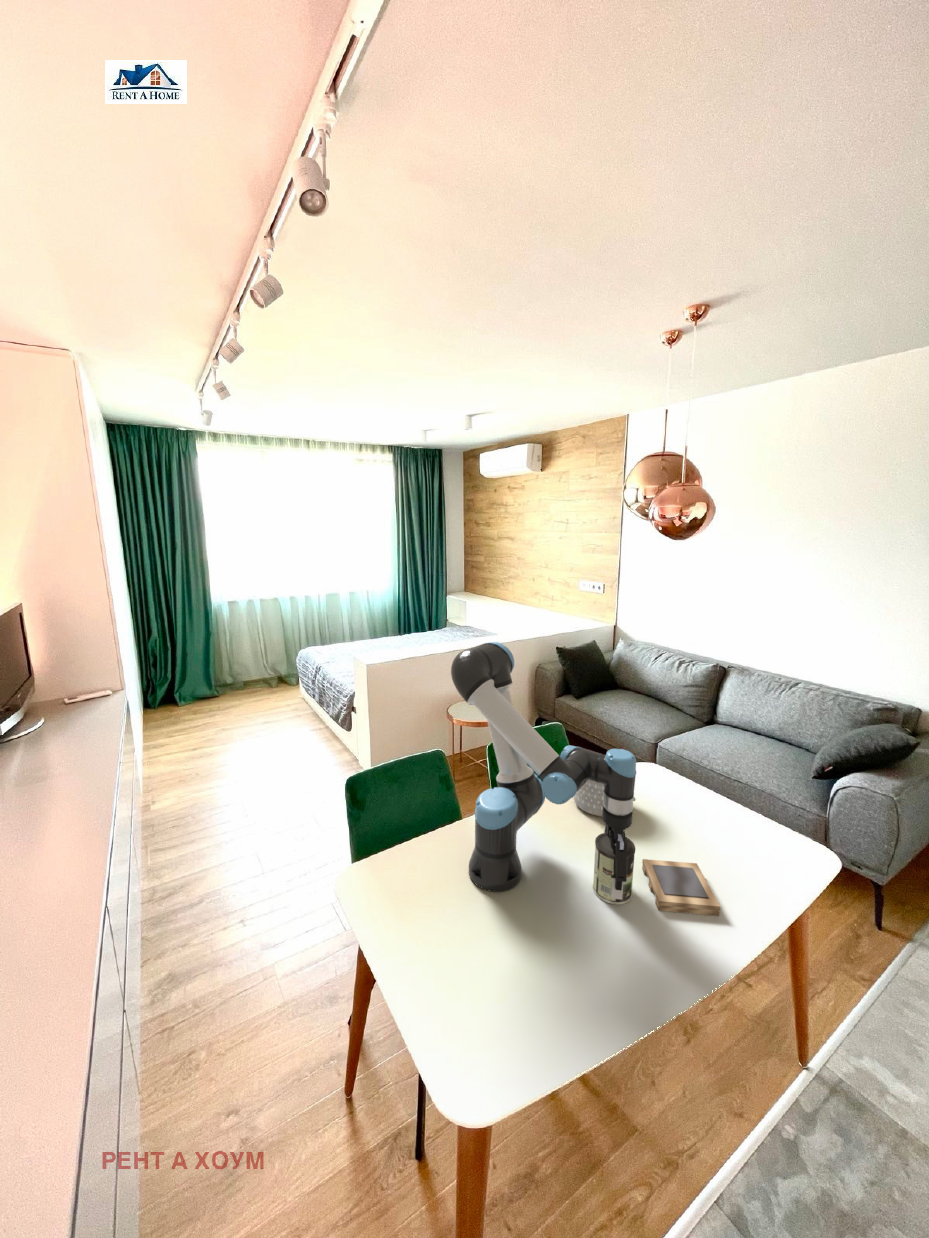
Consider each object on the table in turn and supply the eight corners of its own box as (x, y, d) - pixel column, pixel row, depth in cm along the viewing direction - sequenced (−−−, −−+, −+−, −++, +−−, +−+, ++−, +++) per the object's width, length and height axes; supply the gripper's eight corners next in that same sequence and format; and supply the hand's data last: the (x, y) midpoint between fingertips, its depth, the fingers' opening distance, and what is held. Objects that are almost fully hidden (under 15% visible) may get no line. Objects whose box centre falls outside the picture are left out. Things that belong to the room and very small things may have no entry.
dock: (658, 911, 120) (659, 899, 120) (641, 868, 136) (642, 857, 135) (719, 916, 118) (720, 905, 118) (695, 872, 134) (696, 862, 134)
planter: (593, 786, 181) (595, 751, 178) (637, 807, 167) (640, 770, 164) (562, 802, 169) (564, 766, 167) (607, 827, 155) (610, 787, 152)
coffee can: (628, 879, 131) (632, 834, 129) (634, 907, 121) (638, 859, 119) (591, 874, 133) (593, 829, 131) (593, 901, 123) (596, 853, 121)
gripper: (643, 836, 111) (637, 917, 115) (622, 786, 134) (617, 856, 137) (611, 833, 112) (606, 914, 116) (595, 784, 134) (591, 854, 138)
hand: (612, 882), depth 127 cm, fingers closed on coffee can, 10 cm apart
